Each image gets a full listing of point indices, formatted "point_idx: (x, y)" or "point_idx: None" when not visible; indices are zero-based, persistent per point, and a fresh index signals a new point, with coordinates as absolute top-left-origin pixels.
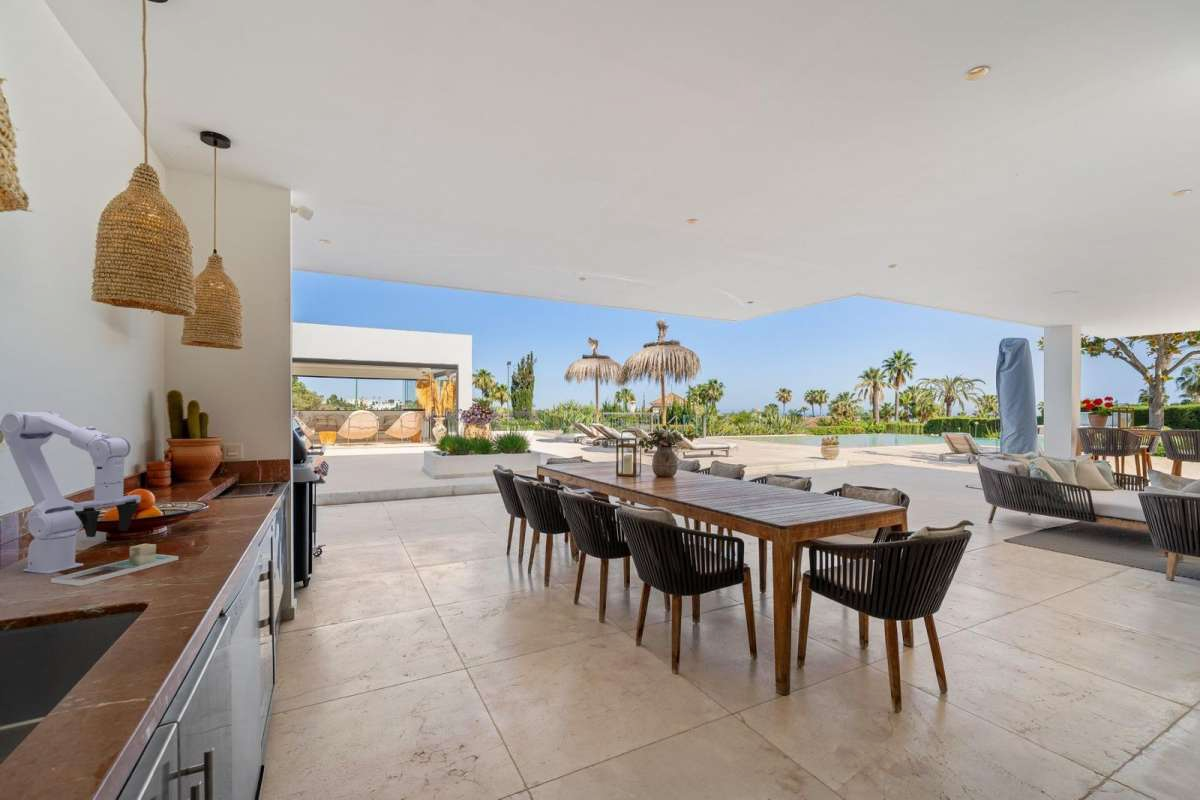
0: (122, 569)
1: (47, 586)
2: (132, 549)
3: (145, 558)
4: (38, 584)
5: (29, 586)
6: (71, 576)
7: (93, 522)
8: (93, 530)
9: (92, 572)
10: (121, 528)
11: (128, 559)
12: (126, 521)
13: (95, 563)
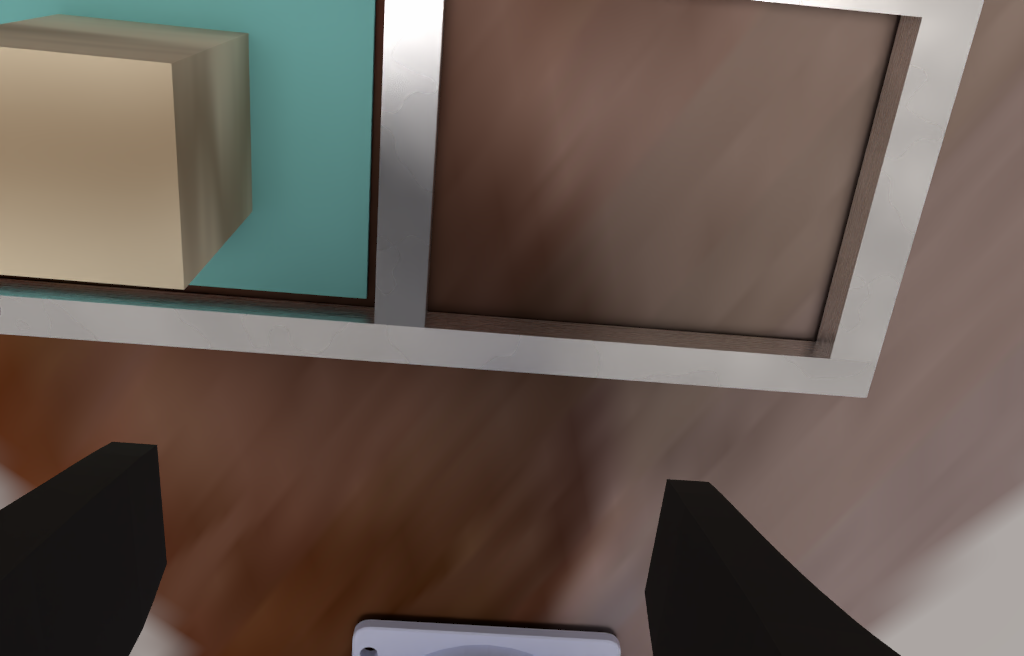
0: (440, 66)
1: (932, 313)
2: (191, 225)
3: (158, 35)
4: (874, 441)
5: (928, 452)
6: (728, 340)
7: (857, 651)
8: (758, 537)
9: (544, 323)
10: (148, 548)
11: (163, 339)
12: (60, 549)
13: (268, 606)
